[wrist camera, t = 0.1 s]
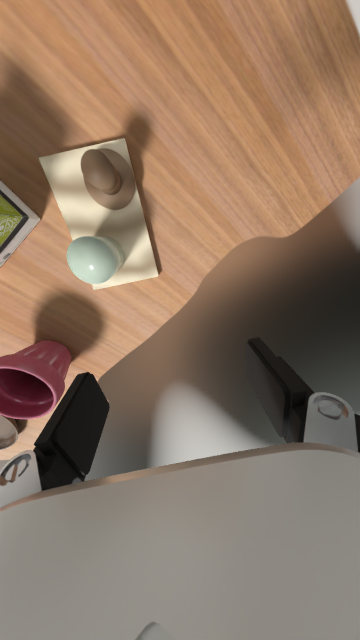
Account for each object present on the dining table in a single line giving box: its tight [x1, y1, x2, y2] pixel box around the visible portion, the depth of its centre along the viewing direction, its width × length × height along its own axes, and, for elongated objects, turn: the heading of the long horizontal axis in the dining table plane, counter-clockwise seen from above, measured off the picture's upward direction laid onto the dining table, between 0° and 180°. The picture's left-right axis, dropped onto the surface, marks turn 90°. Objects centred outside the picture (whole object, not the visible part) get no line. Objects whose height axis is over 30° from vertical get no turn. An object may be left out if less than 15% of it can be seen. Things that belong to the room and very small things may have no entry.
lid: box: [81, 148, 135, 210], centre depth 27 cm, size 8×8×7 cm
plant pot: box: [0, 340, 71, 419], centre depth 40 cm, size 14×14×13 cm
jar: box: [67, 236, 125, 284], centre depth 32 cm, size 7×7×8 cm
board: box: [39, 138, 159, 290], centre depth 34 cm, size 22×14×1 cm, turn 11°
